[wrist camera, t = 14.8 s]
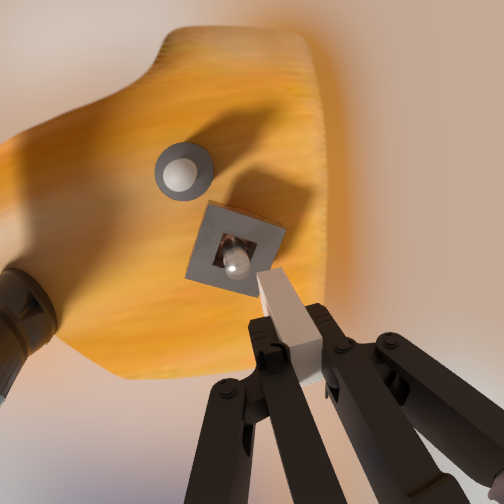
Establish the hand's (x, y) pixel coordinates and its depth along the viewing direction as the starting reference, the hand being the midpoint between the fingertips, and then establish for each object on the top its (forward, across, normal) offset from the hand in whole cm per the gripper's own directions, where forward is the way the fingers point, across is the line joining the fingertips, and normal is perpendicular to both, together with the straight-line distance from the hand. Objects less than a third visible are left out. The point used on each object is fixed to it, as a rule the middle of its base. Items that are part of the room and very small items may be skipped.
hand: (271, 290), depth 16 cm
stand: (+20, -5, +7) cm, 21 cm away
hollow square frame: (+17, -2, -3) cm, 17 cm away
